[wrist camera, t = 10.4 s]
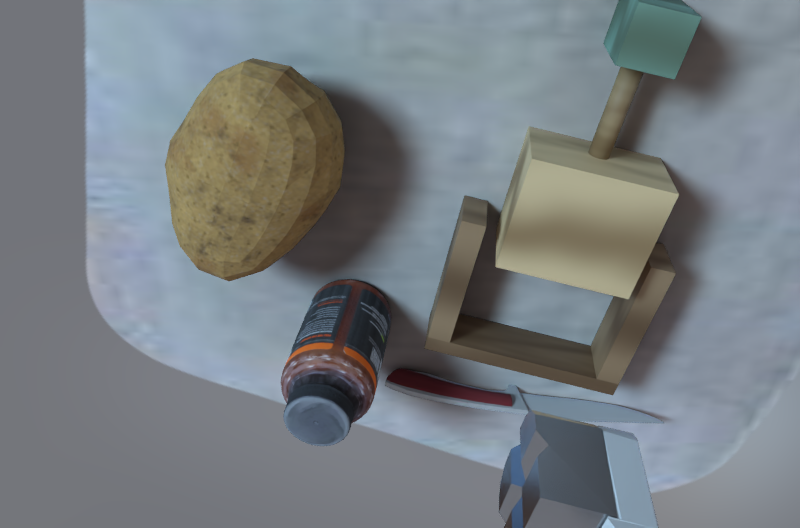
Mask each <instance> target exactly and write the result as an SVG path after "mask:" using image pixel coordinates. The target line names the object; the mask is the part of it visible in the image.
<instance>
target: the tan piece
mask: <svg viewBox="0 0 800 528" xmlns="http://www.w3.org/2000/svg"><path fill="white" fill-rule="evenodd" d="M487 202H488V201H485V200H481V199H477V198H473V197H469V196H464V199H463V203H462V206H461V210H460V213H459V217H458V220H457V224H456V227H455V231H454V234H453V238H452V241H451V245H450V248H449V251H448V255H447V258H446V262H445V265H444V269H443V272H442V276H441V279H440V283H439V286H438V290H437V293H436V297H435V300H434V304H433V307H432V311H431V314H430V318H429V324H428V330H427V336H426V342H425V348H424V349H428V350H432V351H436V352H440V353H444V354H448V355H453V356H457V357H461V358H465V359H469V360H473V361H477V362H481V363H485V364H489V365H493V366H497V367H501V368H505V369H509V370H513V371H517V372H521V373H525V374H529V375H533V376H537V377H541V378H545V379H549V380H554V381H558V382H562V383H566V384H570V385H574V386H578V387H582V388H586V389H590V390H594V391H598V392H602V393H606V394H610V395H613V394H614V392H615V390H616V388H617V386H618V384H619V383H620V381H621V379H622V377H623V375H624V373H625V371H626V369H627V367H628V365H629V363H630V361H631V359H632V357H633V356H634V354H635V352H636V350H637V348H638V346H639V344H640V342H641V340H642V338H643V336H644V334H645V332H646V331H647V329H648V327H649V325H650V323H651V321H652V319H653V317H654V315H655V313H656V311H657V309H658V307H659V305H660V304H661V302H662V300H663V298H664V296H665V294H666V292H667V290H668V288H669V286H670V284H671V282H672V280H673V278H674V277H675V275H676V272H675V270H674V268H673V265H672V263H671V260H670V258H669V256H668V253H667V251H666V248H665V246H664V244H660V243H656V244H655V246H654V248H653V250H652V252H651V254H650V256H649V258H648V260H647V262H646V264H645V266H644V268H643V271H642V273H641V275H640V277H639V279H638V281H637V283H636V285H635V287H634V289H633V291H632V293H631V295H630V298H629V299H625V298H621V297H616V296H614V297H613V299H612V301H611V303H610V306H609V308H608V310H607V312H606V314H605V316H604V318H603V321H602V323H601V325H600V327H599V329H598V331H597V333H596V336H595V338H594V340H593V342H592V344H591V346H588V345H584V344H580V343H576V342H572V341H568V340H564V339H560V338H556V337H552V336H548V335H544V334H540V333H536V332H532V331H528V330H524V329H520V328H515V327H511V326H507V325H503V324H499V323H495V322H491V321H487V320H483V319H479V318H475V317H471V316H467V315H463V314H459V312H460V309H461V305H462V302H463V299H464V296H465V293H466V290H467V287H468V283H469V280H470V277H471V274H472V271H473V268H474V264H475V261H476V258H477V255H478V252H479V249H480V245H481V242H482V239H483V236H484V233H485V230H486V224H487Z"/></svg>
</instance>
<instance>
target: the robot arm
mask: <svg viewBox="0 0 800 528" xmlns="http://www.w3.org/2000/svg"><path fill="white" fill-rule="evenodd" d="M520 443H521V444H520V445H518V446H516V447H514V448H512V449H511V451H510V453H509V456H508V458H507V461H506V464H505V467H504V471H503V475H502V479H501V484H500V493H499V513H500V515H501V516H502V518H503V519H504V521H505V523H506V524H505V526H504V528H659V527H658V523H657V518H656V514H655V510H654V506H653V502H652V498H651V494H650V490H649V485H648V481H647V477H646V473H645V469H644V465H643V461H642V457H641V453H640V448H639V444H638V440H637V438H636V437H635V436H634V434H633V433H629V432H625V431H621V430H616V429H612V428H608V427H603V426H595V425H592V424H588V423H584V422H580V421H576V420H572V419H567V418H563V417H559V416H555V415H551V414H547V413H543V412H538V411H534V410H530V411H529V412H528V414H527V415H526V416H525V419H524V421H523V423H522V425H521V427H520Z"/></svg>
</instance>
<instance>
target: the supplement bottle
mask: <svg viewBox="0 0 800 528" xmlns="http://www.w3.org/2000/svg"><path fill="white" fill-rule="evenodd" d="M390 324H391V311H390V307H389V305H388V303H387V301H386V299H385V298H384V297H383V295H382V294H381V293H380V292H379V291H378V290H376V289H375V288H374V287H372V286H370V285H368V284H366V283H363V282H360V281H356V280H350V279H347V280H337V281H334V282H331V283H328V284H326V285H325V286H323V287H322V288H321V289H320V290H319V291H318V292H317V293H316V295H315V296H314V298H313V300H312V302H311V304H310V306H309V309H308V311H307V314H306V316H305V318H304V321H303V323H302V326H301V328H300V331H299V333H298V335H297V337H296V340H295V343H294V345H293V347H292V350H291V352H290V355H289V357H288V360H287V362H286V365H285V367H284V370H283V373H282V377H281V389H282V394H283V396H284V399H285V401H286V403H287V405H286V408H285V411H284V422H285V424H286V427H287V428H288V430H289V431H290V432H291V433H292V434H293V435H294V436H295V437H296V438H298V439H299V440H301V441H303V442H305V443H308V444H311V445H317V446H330V445H334V444H336V443H338V442H340V441H342V440H343V439H344V438H345V437H346V436H347V435H348V433H349V430H350V427H351V423H353V422H355V421H357V420H358V419H360V418H361V417H362V416H363V415H364V414H366V413H367V411H368V410H369V408H370V406H371V404H372V402H373V399H374V395H375V391H376V387H377V383H378V378H379V374H380V369H381V365H382V361H383V356H384V352H385V348H386V344H387V339H388V335H389V330H390Z"/></svg>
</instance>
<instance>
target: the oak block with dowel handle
mask: <svg viewBox="0 0 800 528" xmlns="http://www.w3.org/2000/svg"><path fill="white" fill-rule="evenodd" d="M701 18H702V17H701V16H700V15H699V14H697V13H696V12H695V11H694V10H692V9H691V8H690V7H689V6H688V5H686V4H685V3H684V2H683V1H681V0H619V2H618V4H617V7H616V10H615V13H614V15H613V18H612V21H611V24H610V27H609V29H608V32H607V35H606V38H605V40H604V45H605V47H606V49H607V51H608V53H609V55H610V57H611V58H612V60H613V62H614V64H615V65H616V66H621V68H620V70H619V73H618V75H617V78H616V81H615V83H614V86H613V88H612V91H611V94H610V96H609V99H608V102H607V104H606V107H605V109H604V112H603V115H602V117H601V120H600V122H599V125H598V128H597V130H596V133H595V135H594V138H593V141H587V140H583V139H579V138H575V137H571V136H567V135H563V134H559V133H554V132H550V131H546V130H542V129H538V128H534V127H530V126H529V127H528V130H527V134H526V137H525V140H524V143H523V146H522V149H521V152H520V155H519V158H518V161H517V165H516V168H515V171H514V174H513V177H512V180H511V183H510V186H509V189H508V193H507V196H506V199H505V202H504V205H503V208H502V211H501V214H500V217H499V220H498V224H497V227H496V267H497V268H502V269H506V270H510V271H514V272H518V273H522V274H526V275H530V276H534V277H539V278H543V279H547V280H551V281H555V282H559V283H563V284H567V285H571V286H575V287H580V288H584V289H588V290H592V291H596V292H600V293H604V294H608V295H612V296H616V297H621V298H625V299H629V298H630V295H631V293H632V291H633V289H634V287H635V285H636V283H637V281H638V279H639V277H640V275H641V273H642V271H643V268H644V266H645V264H646V262H647V260H648V258H649V256H650V254H651V252H652V250H653V248H654V246H655V244H656V242H657V239H658V237H659V235H660V233H661V231H662V229H663V227H664V225H665V223H666V221H667V219H668V217H669V215H670V213H671V210H672V208H673V206H674V204H675V202H676V200H677V198H678V196H679V193H678V191H677V189H676V187H675V185H674V183H673V182H672V180H671V178H670V176H669V174H668V172H667V170H666V168H665V166H664V164H663V162H662V160H661V158H658V157H653V156H649V155H645V154H641V153H637V152H633V151H629V150H625V149H620V148H616V147H614V145H615V142H616V140H617V137H618V135H619V132H620V130H621V127H622V125H623V122H624V120H625V117H626V115H627V112H628V110H629V107H630V105H631V103H632V100H633V98H634V95H635V93H636V90H637V88H638V85H639V83H640V80H641V78H642V75H643V73H644V72H645V73H650V74H654V75H658V76H662V77H666V78H670V79H674V80H675V78H676V75H677V73H678V71H679V69H680V66H681V64H682V62H683V59H684V57H685V55H686V52H687V50H688V48H689V45H690V43H691V41H692V38H693V36H694V34H695V32H696V29H697V27H698V25H699V22H700V20H701Z"/></svg>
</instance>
